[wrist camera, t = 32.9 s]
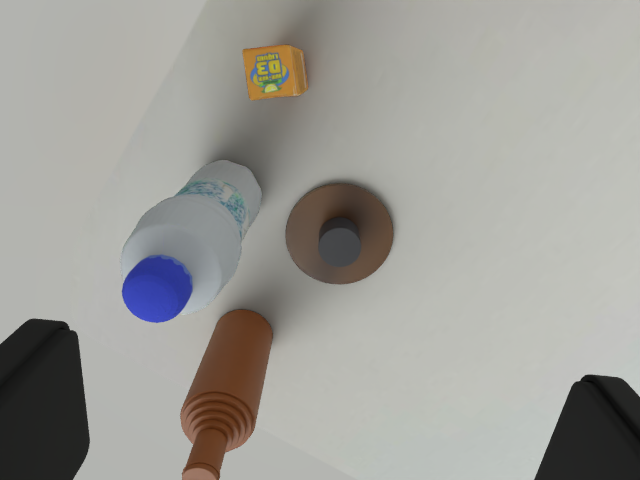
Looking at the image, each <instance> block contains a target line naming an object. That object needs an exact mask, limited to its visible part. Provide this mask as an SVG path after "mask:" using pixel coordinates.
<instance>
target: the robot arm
mask: <svg viewBox="0 0 640 480" xmlns="http://www.w3.org/2000/svg"><path fill="white" fill-rule="evenodd" d="M89 443H90V438H89V430H88V421H87V411H86V403H85V394H84V385H83V377H82V368H81V359H80V350H79V342H78V336H77V333H76V332H75V331H72V330H70V329H69V326H68V324H67V323H65V322H63V321H53V320H43V319H30V320H28V321H26V322H25V323H24V324H23V325H21V326H20V327H19V328H18V329H17V330H16V331H15V332H14V333H13V334H11V335H10V336H9V337H8V338H7V339H6V340H5V341H4V342H2V343H1V344H0V480H73V478H74V477H75V475H76V473H77V472H78V470H79V468H80V467H81V465H82V463H83V462H84V460H85V458H86V455H87V452H88V449H89ZM534 480H640V397H639V396H638V395H637V393H636V392H635V391H634V390H633V389H632V388H631V387H630V386H629V385H628V384H627V382H625V381H624V380H623V379H621V378H618V377H610V376H600V375H585V376H584V377H583V378H582V379H581V380H580V381H578V382H575V383H574V384H573V385H572V387H571V390H570V392H569V395H568V397H567V400H566V402H565V405H564V407H563V410H562V412H561V414H560V417H559V419H558V422H557V424H556V427H555V429H554V432H553V434H552V437H551V439H550V442H549V444H548V447H547V449H546V452H545V454H544V457H543V459H542V462H541V464H540V467H539V469H538V472H537V474H536V477H535V479H534Z"/></svg>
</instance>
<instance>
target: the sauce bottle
mask: <svg viewBox="0 0 640 480" xmlns="http://www.w3.org/2000/svg"><path fill="white" fill-rule="evenodd" d="M272 339H273V333H272V329H271V327H270V325H269V323H268V322H267V320H266V319H265V318H263V317H262V316H261V315H259V314H257V313H256V312H253V311H249V310H235V311H231V312H229V313H227V314H225V315H224V316H223V317H221V318H220V320H219V321H218V323H217V325H216V327H215V330H214V332H213V335H212V337H211V339H210V342H209V344H208V347H207V349H206V351H205V354H204V356H203V359H202V361H201V363H200V366H199V368H198V371H197V373H196V375H195V378H194V380H193V383H192V385H191V387H190V390H189V392H188V395H187V397H186V400H185V402H184V404H183V407H182V409H181V425H182V429H183V431H184V433H185V435H186V436H187V437H188V439H189V440H190V441H191V443H192V444H193V447H192V450H191V453H190V456H189V459H188V462H187V464H186V467H185V468H184V469H183V473H182V480H219V478H220V469H221V466H222V462H223V458H224V454H225V452H228V451H230V450H233V449H235V448H238V447H239V446H241V445H242V444H244V443H245V442H246V441H247V439H248V438H249V437H250V436H251V434H252V433H253V431H254V428H255V424H256V419H257V414H258V409H259V404H260V399H261V394H262V389H263V384H264V379H265V374H266V369H267V364H268V359H269V354H270V349H271V344H272Z"/></svg>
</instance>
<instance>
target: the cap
mask: <svg viewBox="0 0 640 480" xmlns="http://www.w3.org/2000/svg"><path fill="white" fill-rule="evenodd" d="M318 250H319V254H320V256H321V258H322V259H323V260H324V261H325V262H326V263H327V264H329V265H331V266H334V267H345V266H348V265H350V264H352V263H353V262H355V261H356V260H357V258H358V257H359V255H360V252H361V241H360V235H359V230H358V228H357V226H356V225H355V224H354V223H353V222H352V221H351V220H349V219H346V218H342V217H337V218H332V219H330V220H328V221H327V222H325V223H324V224H323V226H322V227H321V229H320V232H319V244H318Z"/></svg>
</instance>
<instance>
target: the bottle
mask: <svg viewBox="0 0 640 480" xmlns="http://www.w3.org/2000/svg"><path fill="white" fill-rule="evenodd" d="M261 199H262V193H261V189H260V187H259V185H258V183H257V181H256V179H255V177H254V175H253V173H252V172H251V171H250V170H249V169H248V168H247V167H245V166H241V165H239V164H236V163H233V162H230V161H228V160H219V161H215V162H213V163H210V164H207V165H205V166H204V167H202V168H201V169H199V170H198V171H197V172H196V173H195V174H194V175H193V176H192V177H191V179H190V180H189V182H188V183H187V184H186V186H184V187H183V188H182V189H181V190H180V191H179V192H178V193H177V194H176V195H175V196H174V197H170V198H167V199H165V200H163V201H161V202H160V203H158V204H157V205H156V206H154V207H152V208H151V209H150V210H148V211H147V212H146V213H145V214H144V215H143V216H142V217H141V219H140V220H139V222H138V224H137V226H136V228H135V229H134V231H133V232H132V234H131V235H130V237H129V238H128V240H127V241H126V243H125V245H124V247H123V249H122V253H121V259H120V267H121V274H122V277H123V280H124V283H123V289H122V296H123V299H124V303H125V304H126V306H127V308H128V309H129V310H130V311H131V312H132V313H133V314H134V315H135V316H137V317H138V318H140V319H142V320H145V321H149V322H156V323H158V322H164V321H168V320H170V319H172V318H174V317H176V316H177V315H186V314H190V313H194V312H197V311H199V310H201V309H203V308H204V307H206V306H207V305H209V304H210V303H211V302H212V301H213V300H214V299H215V297H216V296H217V295H218V294H219V292H220V291H221V290H222V288H223V287H224V286H225V285H226V284H227V283H228V282H229V281H230V280H231V278H232V277H233V275H234V273H235V271H236V269H237V266H238V262H239V259H240V255H241V249H242V247H241V243H242V241H243V239H244V237H245V235H246V232H247V230H248V228H249V227H250V226H251V224H252V223H253V222H254V220H255V218H256V216H257V214H258V212H259V209H260V205H261Z"/></svg>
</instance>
